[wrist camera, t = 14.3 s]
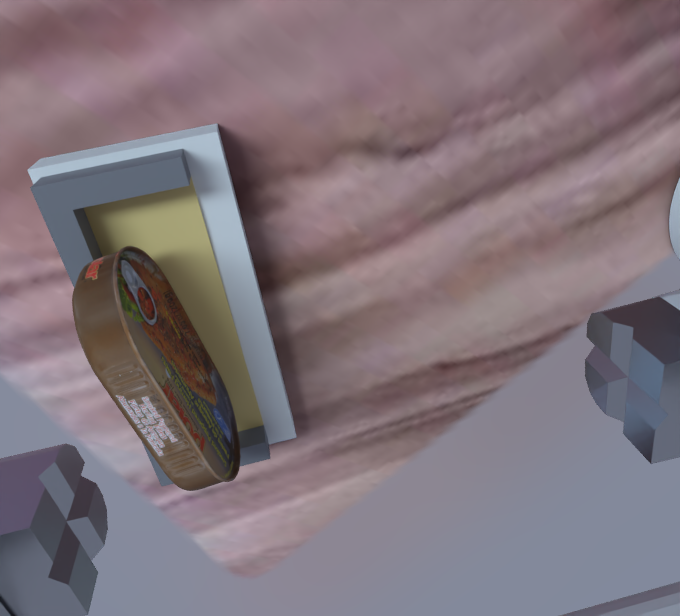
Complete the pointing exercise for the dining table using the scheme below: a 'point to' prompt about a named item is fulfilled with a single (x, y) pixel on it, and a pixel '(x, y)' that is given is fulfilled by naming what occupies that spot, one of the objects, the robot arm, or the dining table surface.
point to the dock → (177, 255)
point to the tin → (156, 368)
